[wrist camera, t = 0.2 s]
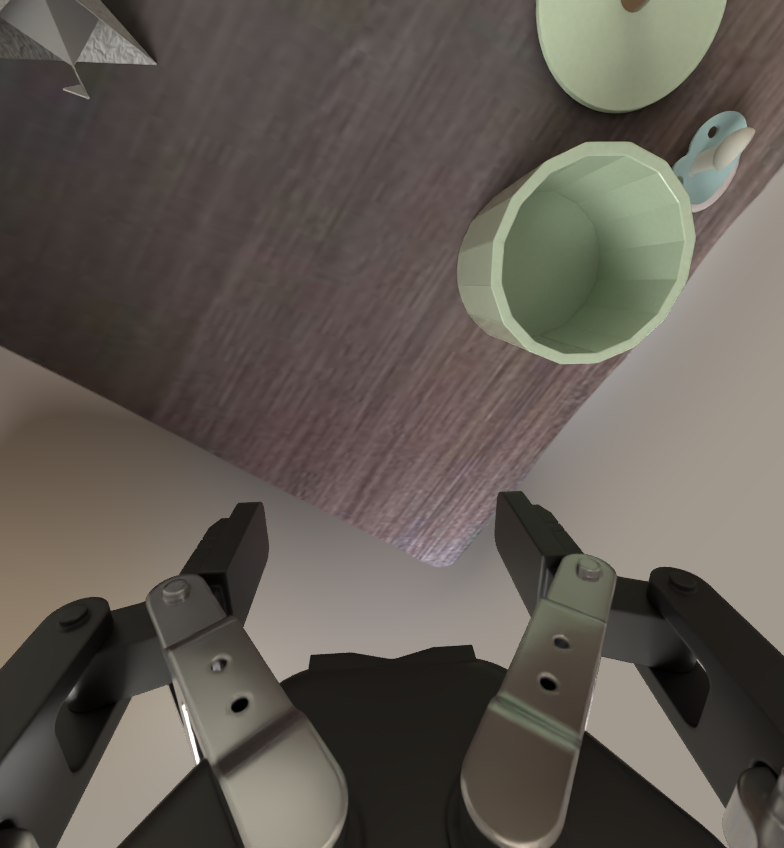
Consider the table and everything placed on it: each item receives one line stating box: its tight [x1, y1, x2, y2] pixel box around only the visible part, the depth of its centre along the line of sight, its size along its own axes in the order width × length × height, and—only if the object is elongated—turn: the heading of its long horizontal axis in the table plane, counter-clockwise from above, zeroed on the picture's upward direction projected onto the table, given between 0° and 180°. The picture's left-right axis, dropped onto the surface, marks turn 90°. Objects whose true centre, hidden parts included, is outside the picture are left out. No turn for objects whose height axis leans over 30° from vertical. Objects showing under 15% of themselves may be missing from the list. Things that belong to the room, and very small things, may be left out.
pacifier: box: [672, 111, 755, 212], centre depth 35 cm, size 7×6×6 cm
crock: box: [457, 142, 696, 364], centre depth 34 cm, size 14×14×12 cm
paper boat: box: [0, 0, 157, 99], centre depth 29 cm, size 12×6×9 cm
